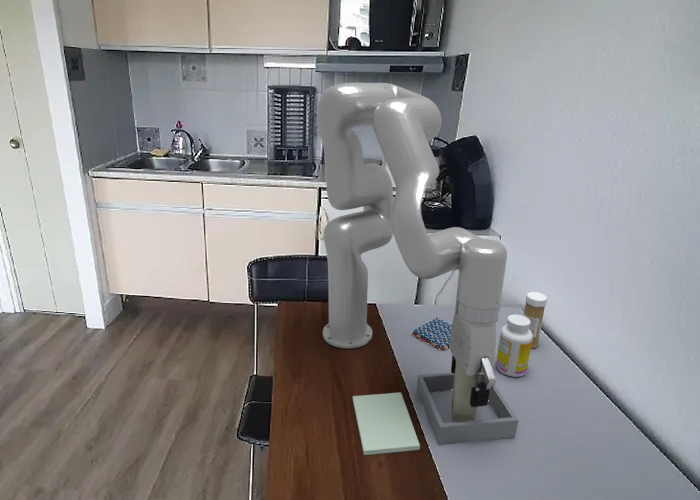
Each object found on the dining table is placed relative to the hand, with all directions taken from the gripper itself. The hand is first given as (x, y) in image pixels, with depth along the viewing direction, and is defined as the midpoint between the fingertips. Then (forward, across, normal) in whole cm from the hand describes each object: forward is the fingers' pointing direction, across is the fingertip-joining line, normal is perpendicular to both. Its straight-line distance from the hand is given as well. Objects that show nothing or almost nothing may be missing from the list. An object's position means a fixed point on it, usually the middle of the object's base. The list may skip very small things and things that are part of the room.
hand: (468, 388), depth 84 cm
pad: (+6, 0, -16) cm, 17 cm away
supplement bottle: (+6, -12, +16) cm, 21 cm away
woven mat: (+6, -28, +4) cm, 29 cm away
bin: (+6, 0, 0) cm, 6 cm away
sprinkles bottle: (+6, -22, +25) cm, 33 cm away
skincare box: (+6, 0, 0) cm, 7 cm away
